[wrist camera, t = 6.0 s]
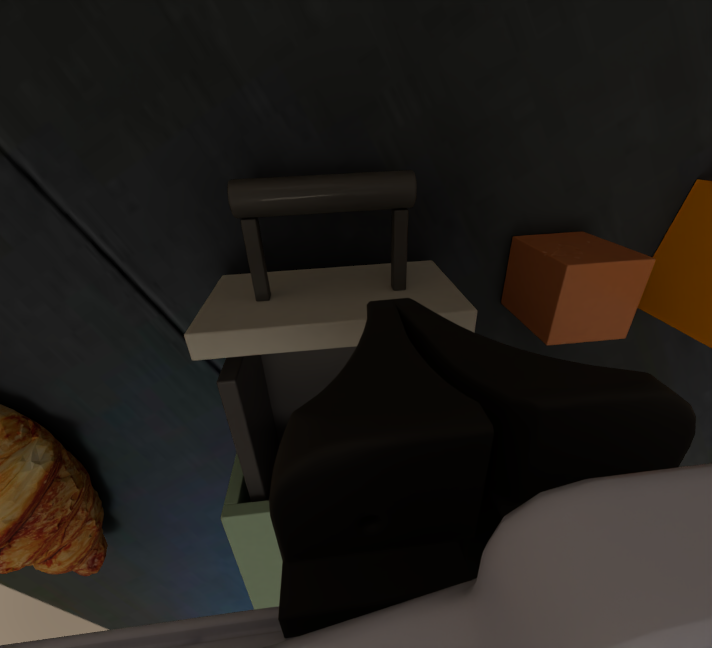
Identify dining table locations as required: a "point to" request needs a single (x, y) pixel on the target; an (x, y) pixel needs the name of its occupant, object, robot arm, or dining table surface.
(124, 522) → the dining table surface
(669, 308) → the orange juice
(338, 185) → the cream drawer
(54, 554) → the croissant
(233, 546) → the green drawer box
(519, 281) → the rust orange cube
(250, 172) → the dining table surface
